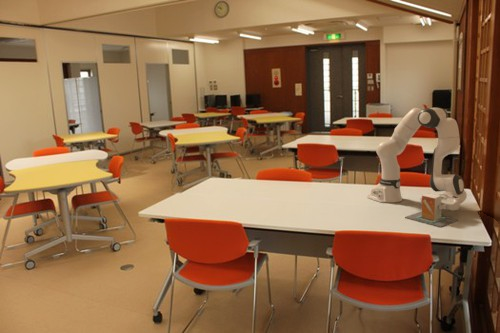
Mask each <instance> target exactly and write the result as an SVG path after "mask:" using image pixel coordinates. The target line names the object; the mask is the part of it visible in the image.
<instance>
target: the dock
mask: <svg viewBox="0 0 500 333" xmlns="http://www.w3.org/2000/svg"><path fill="white" fill-rule="evenodd" d="M404 219H407V220H410V221H414V222H418V223H422V224H426V225H429V226H434V227H436V226H437V227H436V228H440V227H441V228H444V227H446V226H449V225H451V224H454V223H456V222H459V219H455V218H452V217H449V216H443V215H441V218H440V219H437V220H435V221H432V220H429V219H425V218H422V210H421V211H419V212H415V213H412V214H410V215H407V216H405V217H404Z"/></svg>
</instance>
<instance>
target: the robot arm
mask: <svg viewBox="0 0 500 333" xmlns="http://www.w3.org/2000/svg"><path fill="white" fill-rule="evenodd" d="M421 126H423V127H425V128H430V129H436V131H437V146H435V148H434V149H433V153H432V161H431V173H430V179H429V187H430V188H431V190H433V191H434V192H437V193H439V192H443V193H440V194H438V195H439V196H442V197H441V205H438V206H437V208H438V209H441V210H447V211H457V210H460V207H461V204H463V203H464V202H465V201H466V199H467V196H468V195H467V192H466V191H465V182H464V180H463V177H462V176H461V175H459V174H442V169H443V160H444V159H445V157H447V156H448V155H451V154H453V153H455V152H457V150H458V149H459V146H460V142H461V141H460V140H461V139H460V131H459V125H458V122H457V120H456V119H454V118H452V117H449V114H448V112H447V111H446V109H444V108H442V107H429V108H426V107H425V108H424V109H422V108H419V107H413V108H412V109H410V110H409V111H408V112H407V113H406V114H405V115H404V116H403V118H402V119H401V120H400V122H398V124H397V125H396V126H395V128H394V129H393V130H394V131H393V133H392V135H391V136H390V138H388V140H384V141H382V142H380V143H379V144H378V145H377V147H376V149H375V150H376V151H375V152H376V154H377V156H378V157H379V160H380V165H381V177H380V178H378V180H377V181H378V184H376V185H374V186H373V187H371V191H370V194H368V195H367V196H366V198H367V199H370V200H373V201H375V202H378V203H399V202H402V201H403V198H402V197H403V196H402V193H401V177H400V176H401V167H400V164H399V162H398V159H397V156H399V155H401V154H402V153H403V152H404V151H405V149H406V147H407V145H408V143H409V142H410V140H411V139H412V138H413V136H414V135H415V134H416V132H417V131H418V130H419V129H420V128H421ZM420 204H421V205H422V196H421V197H420Z"/></svg>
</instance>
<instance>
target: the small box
mask: <svg viewBox="0 0 500 333" xmlns="http://www.w3.org/2000/svg"><path fill="white" fill-rule="evenodd" d="M439 195H440V194H433V193H426V194H425V193H424V194H422V195H421V197H422V204H421V211H422V218H425V219H429V220H432V221H435V220H437V219H440V218H441V216H442V209H438V208H437V206H438V205H441V197H442V196H439Z"/></svg>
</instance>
